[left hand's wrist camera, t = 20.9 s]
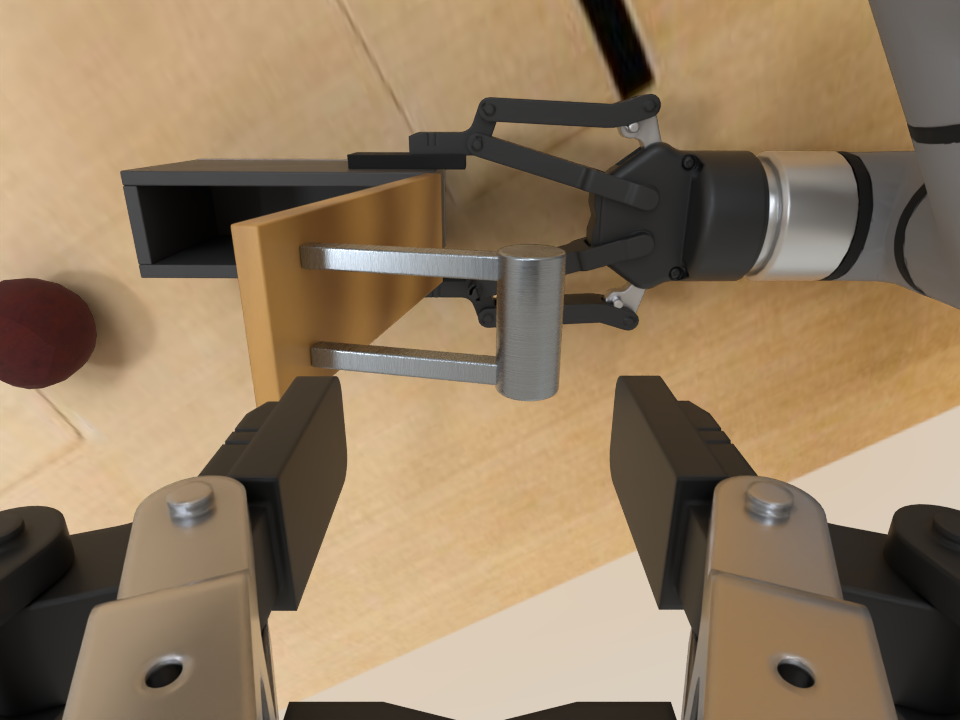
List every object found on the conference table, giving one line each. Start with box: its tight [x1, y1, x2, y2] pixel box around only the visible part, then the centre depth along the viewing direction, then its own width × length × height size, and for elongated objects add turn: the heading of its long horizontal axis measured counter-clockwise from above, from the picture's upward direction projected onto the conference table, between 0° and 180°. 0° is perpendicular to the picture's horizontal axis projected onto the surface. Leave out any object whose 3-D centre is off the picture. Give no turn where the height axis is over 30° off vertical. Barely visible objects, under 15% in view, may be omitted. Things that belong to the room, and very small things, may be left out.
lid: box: [231, 173, 566, 408], centre depth 24 cm, size 17×6×9 cm
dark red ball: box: [0, 278, 97, 389], centre depth 42 cm, size 7×8×7 cm
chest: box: [120, 159, 446, 278], centre depth 38 cm, size 16×6×10 cm, turn 90°
